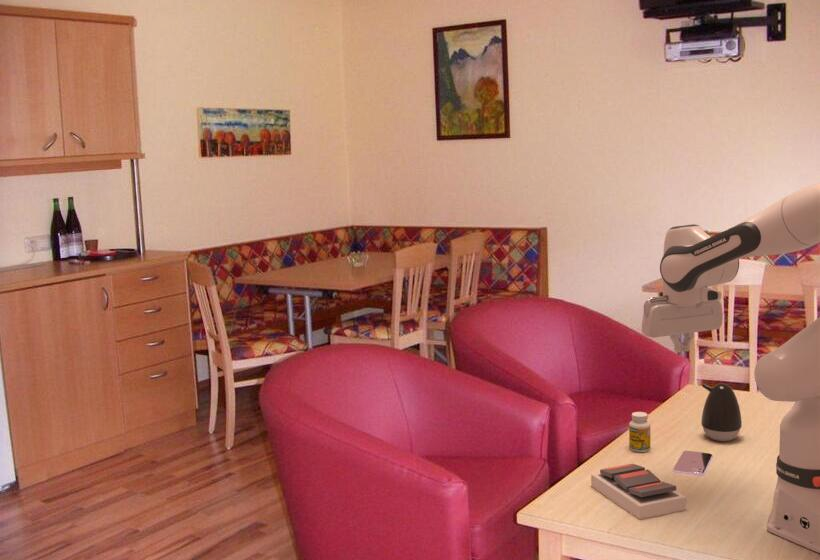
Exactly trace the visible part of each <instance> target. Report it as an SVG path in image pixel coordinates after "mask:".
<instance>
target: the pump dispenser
mask: <svg viewBox="0 0 820 560" xmlns="http://www.w3.org/2000/svg"><path fill="white" fill-rule="evenodd" d="M702 388H704V389H706V391H708V394H707V397H706V399H705V402H704V405H703V407H702V408H703V409H702V415H701V422H700V423H701V426H702V429H703V432H704V433H705V435H706V436H707V437H708V438H709V439H711V440H714V441H717V442H729V441H732V440H734V439H735V438H737V436H738V435H739V433H740V430H741V429H742V425H743V424H742V414H741V409H740V404H739V402H738V399H737V396H736V393H735V391H734V390H733V388H732V387H731V386H730V385H728V384H727V383H723V382H720V383H717V384H715V385H714V386H711V385H709V384H706V383H702Z"/></svg>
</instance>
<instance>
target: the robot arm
mask: <svg viewBox="0 0 820 560" xmlns="http://www.w3.org/2000/svg"><path fill="white" fill-rule="evenodd" d="M818 244H820V182H818V183H816V184H812V185H808V186H807V187H804V188H802V189H799V190H797V191H794V192H792V193H791V194H789V195H786V196H785V197H783V198H780V199H779V200H777V201H776V202H774V203H773V204H771V205H769V206H768V207H765V208H764V209H763V210H760V211H759V212H758V213H757V212H756V213H755V214H754V215H752V216H750V217H748V218H746V219H744V220H743V221H741V222H740V223H737V224H736V225H734V226H732V227H730V228H728V229H725V230H724V231H722V232H720V233H717V234H715V235H713V236H711V235H709V234H707V232H706V231H704V229H703V227H702V226H701V225H699V224H695V223H693V224H684V225H677V226H672V227H670V228H669V229H667V231H666V234H665V238H664V243H663V255H662V258H661V260H660V264H659V272H660V276H661V278H662V295H659V296H650V297H649V298H648V299H647V300H646V301H645V302H644V304H643V315H642V321H641V333H642V334H643V335H644V336H646V337H648V338H651V339H653V338H661V337H662V338H663V337H669V338H670V340H671V342H672V343H673V345H674V349H673V350H674V353H677V354H680V353H684V352H685V353H686V352H689V351H690V345H691V343H692V341H693V340H694V337H695V333H701V332H708V331H709V332H710V331H715V330H719V329H721V327H722V325H723V317H724V316H723V315H724V314H723V305H722V302H721V299H722V292H721V291H720V290H717V289H714V288H711V287H712V286H717V285H724V284H726V283H729V282H731V281H733V280H734V279H735V278H736V276H737V275H738V272H739V268H740V260H741V259H747V258H753V257H761V256H762V257H763V256H775V255H784V254H790V253H794V252H799V251H803V250H805V249H808V248H811V247H813V246H816V245H818ZM682 335H683V336H684V338H683V341H682V342H680V340H679V339H681V336H682ZM754 381H755V384H756V386H757V388H758V390H759V392H760V393H761V394H762V396H764V397H765V398H766V399H768V400H770V401H775V402H785V403H788V402H791V403H792V402H793V405H792V406H791V409H789V411H787V413H786V414H785V415H784V416H783V417H782V418H781V421H780V425H779V447H778V448H779V451H778V453H779V454H778V455H777V457H776V463H775V468H776V470H775V472H776V475H777V481H776V485H775V489H774V494H773V499H772V505H771V510H770V514H769V515H768V523H767V526H766V527H767V528H766V530H767V531H768V532H769V533H771V534H774V535H776V536H779V537H780V538H783V539H785V540H787V541H789V542H793V543H795V544H797V545H799V546H802V547H804V548H806V549H808V550H812V551H813V552H815V553H818V554H820V316H818V317H817V318H816V319H815V320H814V321H812V322H811V323H809V324H808V325H807V326H805V327H804V328H803V329H801V330H800V331H799V332H797V333H796V334H794V335H793V336H792V337H791V338H789V339H788V340H787V341H785V342H784V343H783V344H781V345H780V346H778V347H777V348H775V349H774V350H772V351H769V352H768V353H766V354H764V355H763V356H761V357H760V358H759V359H758V360H757V362H756V363H755V367H754Z"/></svg>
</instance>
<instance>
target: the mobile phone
mask: <svg viewBox="0 0 820 560" xmlns="http://www.w3.org/2000/svg"><path fill="white" fill-rule="evenodd" d="M713 457H714V455H713V454H712V453H710V452H709V453H708V452H702V451H694V450H693V451H692V450H691V451H690V450H684V451H682V452H681V454H680V456H679V458H678V460H676V461H677V462H676V463H675V465H673V466H674V467H673V468H672V472H674V473H676V474H677V473H678V474H684V475H690V474H691V476H697V475H698V476H699V477H700V476H701V477H703V476H705V475H706V472H707V470H708V468H709V466H710V464H711V462H712V460H713Z"/></svg>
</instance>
